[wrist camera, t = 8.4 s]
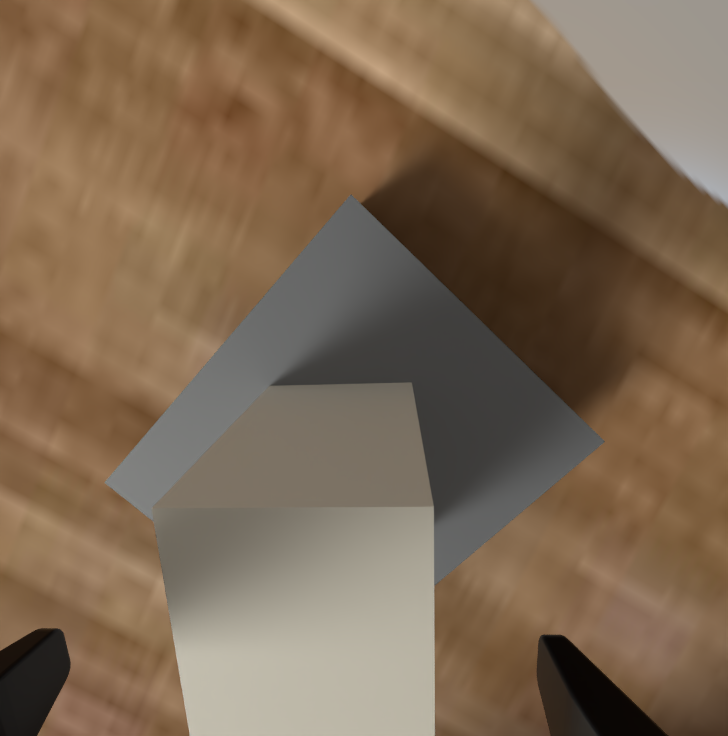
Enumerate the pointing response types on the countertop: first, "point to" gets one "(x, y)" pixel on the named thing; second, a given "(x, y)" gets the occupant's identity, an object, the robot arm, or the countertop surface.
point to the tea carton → (306, 568)
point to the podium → (381, 365)
